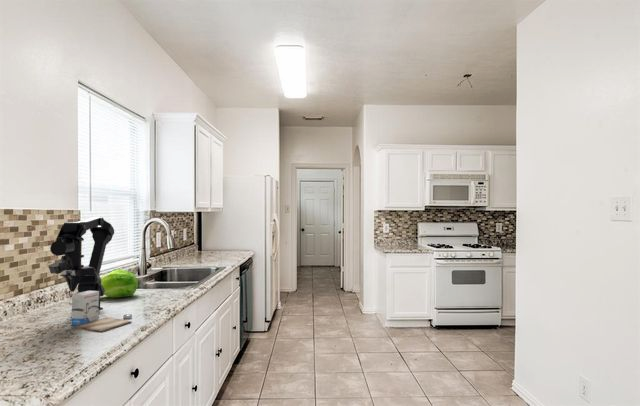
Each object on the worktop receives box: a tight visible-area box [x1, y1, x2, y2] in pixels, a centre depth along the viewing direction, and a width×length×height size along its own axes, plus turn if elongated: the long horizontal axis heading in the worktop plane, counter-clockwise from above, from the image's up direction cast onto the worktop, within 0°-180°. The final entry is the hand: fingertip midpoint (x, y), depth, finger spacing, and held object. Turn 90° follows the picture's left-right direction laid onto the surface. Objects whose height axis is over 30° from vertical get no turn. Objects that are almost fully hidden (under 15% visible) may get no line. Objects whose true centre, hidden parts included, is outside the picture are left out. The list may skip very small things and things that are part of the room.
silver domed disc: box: [122, 313, 133, 320], centre depth 154 cm, size 3×3×1 cm
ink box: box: [71, 291, 100, 326], centre depth 148 cm, size 9×5×12 cm, turn 167°
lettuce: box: [100, 269, 139, 298], centre depth 192 cm, size 15×22×15 cm
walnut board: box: [74, 317, 132, 333], centre depth 144 cm, size 14×13×1 cm
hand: (72, 291), depth 151 cm, fingers closed
